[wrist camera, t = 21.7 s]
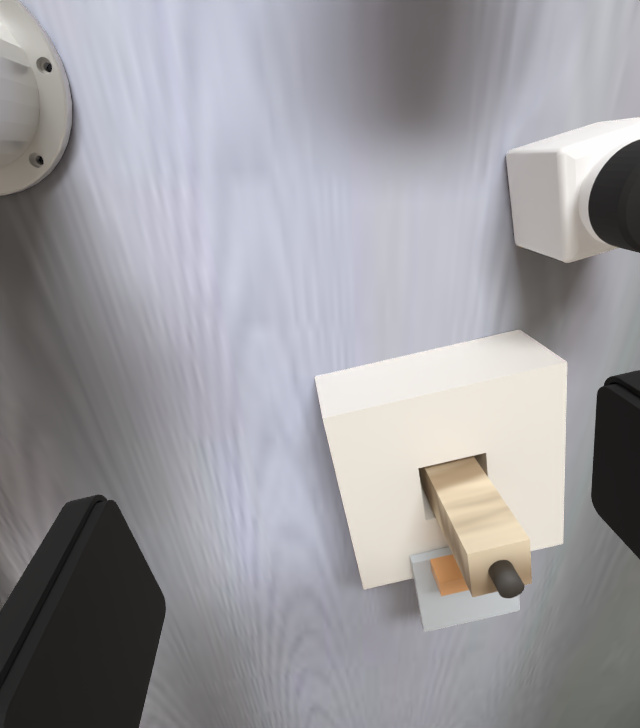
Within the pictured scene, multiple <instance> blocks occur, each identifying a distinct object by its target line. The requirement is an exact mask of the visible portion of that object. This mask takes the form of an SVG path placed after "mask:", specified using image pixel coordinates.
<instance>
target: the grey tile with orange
mask: <svg viewBox="0 0 640 728" xmlns="http://www.w3.org/2000/svg"><path fill="white" fill-rule="evenodd" d="M410 560H411V565H412V571H413V577H414V583H415V589H416V595H417V600H418V606H419V612H420V618H421V624H422V627H423V630H424V632H429V631H433V630H437V629H442V628H446V627H450V626H455V625H459V624H463V623H468V622H472V621H476V620H481V619H485V618H489V617H494V616H498V615H503V614H507V613H511V612H516V611H520V603H519V595H518V596H516V597H514V598H503V597H501V596H500V595H499V593H498V591H497V592H493V593H489V594H485V595H481V596H477V597H472V595H471V593H470V591H469V589H468V586H467V584H466V582H465V580H464V578H463V576H462V573H461V571H460V569H459V567H458V565H457V562H456V560H455V558H454V556H453V554H452V551H451V549H450V547H446V548H442V549H437V550H433V551H429V552H424V553H420V554H416V555H411V556H410Z"/></svg>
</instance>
